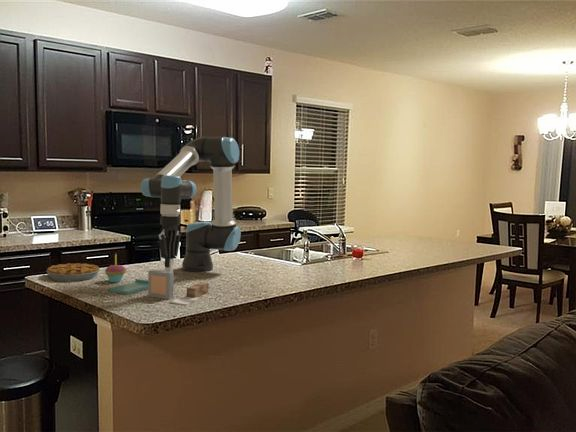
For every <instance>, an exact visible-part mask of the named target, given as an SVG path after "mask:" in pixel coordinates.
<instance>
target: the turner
mask: <svg viewBox="0 0 576 432" xmlns="http://www.w3.org/2000/svg"><path fill="white" fill-rule="evenodd" d="M209 283H210V282H206V281H205V282H203V281H202V282H198V283H195V284H193V285H191V286H189V287H186V295H182V296H180V297H179V298H175V299H173V300H171V301H169V304H174V305H181V306H189V305H191V304H193V303H194V302H195V303H196V302H197V301H199V300H201V299H202V298H201V297H202V296H205V295H206V294H208V293H209V292H210V291H209V289H210V288H209V286H210V284H209Z"/></svg>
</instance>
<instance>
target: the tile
mask: <svg viewBox="0 0 576 432" xmlns="http://www.w3.org/2000/svg"><path fill="white" fill-rule="evenodd" d="M174 276H175V275H174V271H173V272H167V271H165V270H159V269H149V270H148V279H147V280H148V289H147V296H148V297H153V298H159V299H165V300H171V299H174V285H175V283H174V282H175V280H174V278H175V277H174Z"/></svg>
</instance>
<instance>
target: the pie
mask: <svg viewBox="0 0 576 432" xmlns="http://www.w3.org/2000/svg"><path fill="white" fill-rule="evenodd" d="M45 272H46V273H47V274H48V277H49V278H50V279H51V280H52V281H57V282H58V281H59V282H77V281H80V282H81V281H87V280H92V279H94V278H96V277H97V274H98V272H100V267H99V266H98V265H96V264H90V263H87V262H85V263H80V262H78V263H77V262H76V263H70V262H69V263H68V262H67V263H66V264H65V263H64V264H63V263H60V264H57V265H50V267H49V266H48V267H47V269H46V271H45Z"/></svg>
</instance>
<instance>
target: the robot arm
mask: <svg viewBox="0 0 576 432" xmlns="http://www.w3.org/2000/svg"><path fill="white" fill-rule="evenodd" d="M239 160H240V148H239V144H238V142H237V141H236V140H235V139H234V137H227V136H201V137H197V138H195V139H193V140H191V141H189V142H188V143H186V144H185V145H184V146H182V148H181V149H180V150H179V153H178V154H177V155H176V156H175V157H174V158H173V159H172V160H171V161H169V163H167V164H166V165H165V166H164V167H163V168H162V169H161V170H160V171H159V172H158V173H156V175H154V176H153V177H152V178H150V177H148V178H144V179H142V180H141V183H140V191H141V193H142V195H143V196H145V197H150V198H160V220H159V223H160V226H162V228H161V232H160V233H159V234H158V233H157V235H156V236H157V239H158V243H159V252H160V258H162V259H164V271H167V272H174V259H177V257H178V252H179V249H180V248H179V247H180V242H181V237H182V234H183V233H182V231H179V226H180V225H181V216H180V215H181V201H182V200H189V199H192V198H194V197H195V196H196V194H197V186H196V183H195V182H193V180H189V179H184V180H182V178H181V177H182V175H183V174H185V172H186V171H188V170H189V168H191V167H192V166H195V165H197V164H198V163H200V162H201V163H202V162H204V163H205V162H207V163H209V167H210V168H211V169H212V174H213V201H214V202H213V204H214V207H213V208H214V209H213V210H214V220H213V221H212V222H211V221H197V222H191V223H188V224H187V226H186V231H185V234H186V235H185V237H186V238H185V241H186V242H185V255H184V258H183V261H182V263H181V269H182V270H184V271H185V272H186V271H187V272H194V273H197V272H198V273H200V272H209V271H213V270H214V263H213V260H212V257H211V256H212V255H211V250H217V251H218V250H219V251H225V252H226V251H227V252H231V251H235V250H236V249H237V247H238V246H239V243H240V241H241V235H242V232H241V228H240V227H239V226H237V222H236V221H235V220H234V218H233V217H234V214H233V175H232V173H233V171H232V170H233V169H234V168H235V167H236V163H238V162H239Z"/></svg>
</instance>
